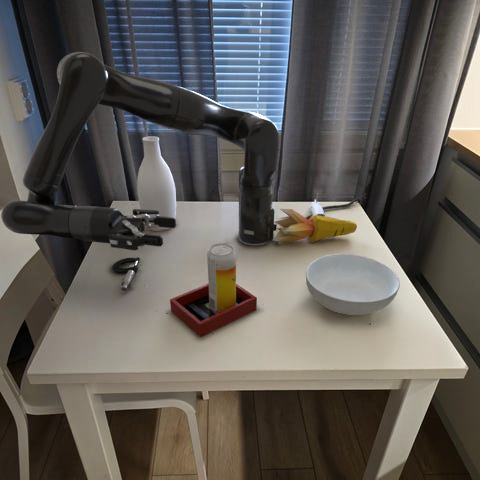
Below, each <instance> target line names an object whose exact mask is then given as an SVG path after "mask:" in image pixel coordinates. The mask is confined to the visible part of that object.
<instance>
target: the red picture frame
mask: <svg viewBox="0 0 480 480" xmlns="http://www.w3.org/2000/svg"><path fill="white" fill-rule="evenodd" d="M208 303H209V283H206V284H203V285H200V286H198V287H196V288H193V289H192V290H189V291H187V292H183V293H182V294H179V295H177V296H174V297H173V298H169V304H170V305H169V306H170V313H171V314H173V315H174V316H175V317H176V318H177V319H179V320H180V322H182V323H183V324H184V325H185V326H187V327H188V328H189V330H191V331H193V332H194V334H196V335H197V336H198V338H202V337H205V336H206V335H207V336H208V335H209V334H210V333H213V332H214V331H217V330H219V329H221V328H223V327H225V326H227V325H230V324H231V323H233V322H235V321H237V320H239V319H242V318H243V317H245V316H247V315H250V314H252V313H254V312H256V311H257V309H258V297H257V296H256V295H254V294H252V293H251V292H249V291H248V290H246V289H245V288H244V287H242V286H240V285H239V284H238V283H236V305H235V306H233V307H231V308H228V309H226V310H224V311H222V312H220V313H217V312H215V311H213V309H211V308H210V307H208V306H207V305H206V304H208Z"/></svg>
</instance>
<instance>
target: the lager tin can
mask: <svg viewBox="0 0 480 480" xmlns="http://www.w3.org/2000/svg"><path fill="white" fill-rule="evenodd" d="M206 257H207V260H206V261H207V279H208V281H207V282H208V283H209V304H208V305H209V308H210V310H212V311H213V312H214V313H216V314H218V313H220V312H222V311H224V310H226V309H228V308H231V307H233V306H235V305H237V303H236V284H237V253H236V250H235V248H234V246H233V245H232V244H230V243H225V242H224V243H223V242H220V243H214V244H212V245H211V246H209V247H208V250H207V253H206ZM208 283H207V284H208Z"/></svg>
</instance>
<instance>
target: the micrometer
mask: <svg viewBox="0 0 480 480" xmlns="http://www.w3.org/2000/svg"><path fill="white" fill-rule="evenodd" d="M140 261H141V258H140V257H139V256H137V257H126V258H122V259H119V260H117V261H116V262H114V264H113V265H112V267H111V269H112V271H113V272H114V273H116V274H122V275H123V274H125V275H124V278H123V280H122V281H121V287H120V288H121V291H122V292H127V290H128V289H131V287H132V283H133V281H134V279H135V276H136V275H137V272H138V270H139V267H138V264H139V263H140ZM125 264H130V265H128V266H129V267H121V266H123V265H125Z"/></svg>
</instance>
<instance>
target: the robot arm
mask: <svg viewBox="0 0 480 480" xmlns="http://www.w3.org/2000/svg"><path fill="white" fill-rule="evenodd" d="M56 77H57V81H58V84H59V88H58V93H57V98H56V102H55V105H54V108H53V111H52V114H51V116H50V119H49V121H48V122H47V125H46V127H45V129H44V130H43V132H42V134H41V136H40V138H39V140H38V142H37V144H36V145H35V147H34V150H33V152H32V154H31V157H30V159H29V161H28V164H27V166H26V168H25V169H26V170H25V171H24V173H23V177H22V184H23V187H25V189H27V190H28V194H27V195H28V196H27V199H26V200H21V199H16V200H12V201H9V202H8V203H6V204H5V205H4V206H3V208H2V209H1V215H0V217H1V221H2V223H3V225H4V226H5V227H6V228H7V229H8V230H9V231H11V232H13V233H15V234H19V235H36V236H37V235H39V236H40V235H41V236H54V237H58V238H64V239H74V240H80V241H84V242H91V243H99V244H110V248H115V249H121V250H128V251H138V250H139V247H144V246H152V247H162V246H163V244H164V239H163V236H162V235H161V234H153V233H144V232H148V231H151V230H150V228H152V227H158V226H159V227H165V228H170V229H175V228H176V227H177V222H176V219H175V218H173V217H162V216H159V211H157V210H142V209H140V208H134V209H132V210H131V211H132V214H130V215H129V214H128V215H124V214H123V213H122V212H121V211H120V210H119V209H118V208H116V207H105V206H95V205H93V206H92V205H74V204H73V205H72V204H56V201H57V200H56V199H57V192H58V190H59V188H60V185H61V183H62V180H63V178H64V176H65V174H66V171H67V168H68V165H69V163H70V161H71V159H72V155H73V152H74V150H75V148H76V145H77V143H78V141H79V138H80V137H81V134H82V132H83V130H84V129H85V126H86V125H87V123H88V122H89V119H90V117H92V114H93V113H94V111H95V110H96V108H97V106H98V105H102V106H106V107H109V108H115V109H119V110H121V111H124V112H127V113H129V114H131V115H133V116H136V117H138V118H140V119H142V120H144V121H146V122H149V123H152V124H154V125H156V126H159V127H162V128H164V129H168V130H170V131H174V132H178V133H181V134H184V135H185V134H186V135H193V136H209V137H215V138H218V139H221V140H224V141H227V142H229V143H231V144H233V145H235V146H238V147H239V148H240V149H242V150H244V159H243V166H242V167H241V168H240V169H239V171H238V231H237V232H238V237H237V239H238V242H240V243H241V244H242V245H246V246H248V247H249V246H250V247H262V246H266V245H267V244H269V243H271V242H273V241H274V240H273V239H274V232H276V231H277V230H278V229H277V228H278V225H275V224H274V221H275V212H276V211H275V208H273V197H274V196H273V195H274V177H275V174H276V172H277V169H278V162H279V160H278V159H279V151H280V131H279V129H278V127H277V125H276V124H275V122H273V121H272V120H270V119H269V118H267V117H265V116H263V115H262V114H259V113H256V112H251V111H245V110H241V109H236V108H232V107H228V106H225V105H222V104H220V103H218V102H216V101H214V100H212V99H210V98H208V97H207V96H204V95H202V94H200V93H197V92H195V91H193V90H190V89H187V88H185V87H181V86H180V85H179V86H178V85H176V84H173V83H169V82H165V81H162V80H157V79H153V78H149V77H148V78H147V77H142V76H137V75H131V74H128V73H126V72H124V71H123V72H122V71H120V70H118V69H116V68H113V67H111V66H109V65H106V64H104V63H103V62H102V61H101V60H100V58H98V57H96V56H95V55H93V54H91V53H89V52H83V51H74V52H71V53H68V54H67V55H65V56H64V57H62V59H60V61H59V63H58V65H57V69H56ZM356 202H357V203H361V202H362V199H360V198H358V197H357V198H354V199H352V200H351V201H349V202H348V203H345V204H337V205H327V206H322V208H323V211H325V210H330V209H341V208H347V207H350V206H352V205H353V204H355V203H356ZM149 214H153V215H149ZM311 216H313V215H312V213H311V214H309V215H308V216H305V218H306V219H308V220H309V219H310V217H311ZM144 222H145V223H144ZM149 222H152V223H150V224H149ZM128 242H129V243H130V244H128Z"/></svg>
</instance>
